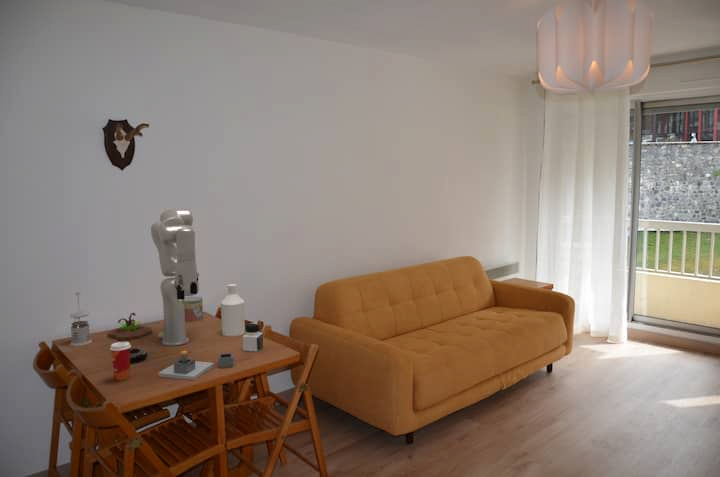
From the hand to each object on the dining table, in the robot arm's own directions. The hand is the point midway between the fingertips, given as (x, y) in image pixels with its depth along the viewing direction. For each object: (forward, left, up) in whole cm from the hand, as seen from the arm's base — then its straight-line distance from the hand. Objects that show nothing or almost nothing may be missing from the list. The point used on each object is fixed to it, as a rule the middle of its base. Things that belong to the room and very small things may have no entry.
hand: (187, 296), depth 232 cm
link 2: (+17, +1, -29) cm, 34 cm away
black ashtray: (-26, -3, -30) cm, 40 cm away
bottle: (-2, +44, -29) cm, 53 cm away
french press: (-67, +12, -29) cm, 74 cm away
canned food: (-36, +61, -29) cm, 76 cm away
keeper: (+5, -10, -29) cm, 31 cm away
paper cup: (-16, -23, -29) cm, 41 cm away
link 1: (+6, -13, -28) cm, 31 cm away
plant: (-51, +29, -30) cm, 66 cm away
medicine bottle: (+19, +23, -29) cm, 42 cm away
